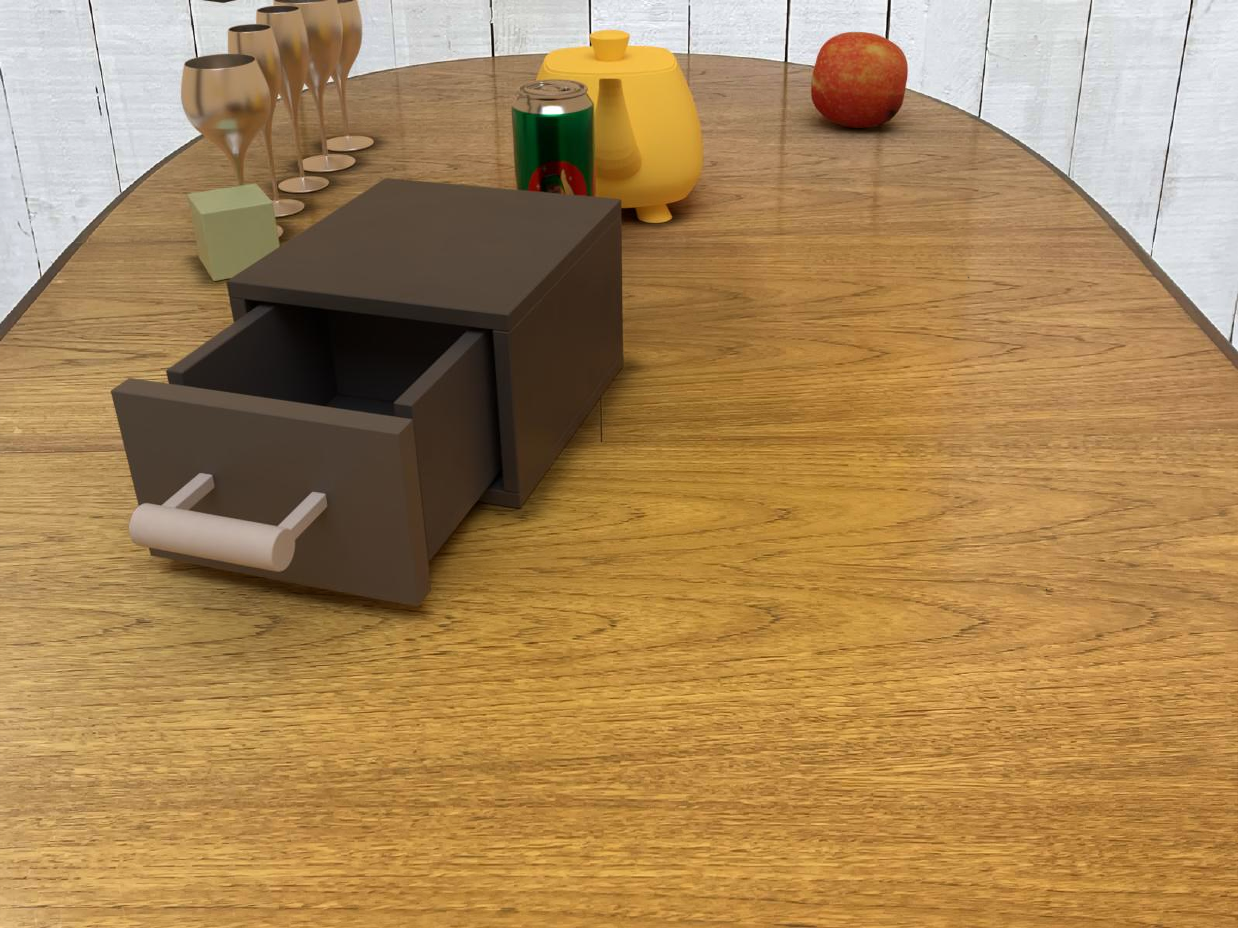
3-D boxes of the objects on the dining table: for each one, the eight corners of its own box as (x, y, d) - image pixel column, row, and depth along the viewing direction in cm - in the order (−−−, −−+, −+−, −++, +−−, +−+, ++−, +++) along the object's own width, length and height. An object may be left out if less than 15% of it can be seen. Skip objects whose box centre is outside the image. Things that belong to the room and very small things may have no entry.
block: (213, 281, 82) (200, 213, 79) (199, 259, 85) (186, 193, 83) (283, 269, 83) (273, 202, 81) (266, 247, 87) (256, 182, 85)
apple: (825, 110, 116) (832, 20, 112) (915, 120, 113) (925, 27, 109) (797, 132, 110) (803, 37, 106) (891, 143, 107) (900, 46, 103)
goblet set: (324, 136, 111) (303, -23, 104) (388, 137, 110) (370, -23, 104) (194, 248, 87) (155, 51, 80) (274, 250, 86) (242, 52, 80)
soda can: (548, 254, 85) (540, 73, 79) (612, 267, 83) (609, 82, 77) (505, 279, 81) (493, 91, 75) (570, 293, 79) (564, 101, 73)
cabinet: (520, 509, 57) (508, 314, 52) (259, 466, 61) (225, 281, 56) (623, 365, 70) (621, 198, 65) (403, 337, 74) (385, 177, 69)
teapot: (515, 258, 85) (504, 70, 78) (527, 168, 102) (519, 8, 96) (714, 254, 85) (719, 66, 78) (692, 165, 102) (695, 5, 96)
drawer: (367, 675, 46) (340, 493, 42) (83, 616, 49) (33, 442, 45) (548, 436, 61) (541, 286, 57) (322, 403, 65) (301, 259, 61)
